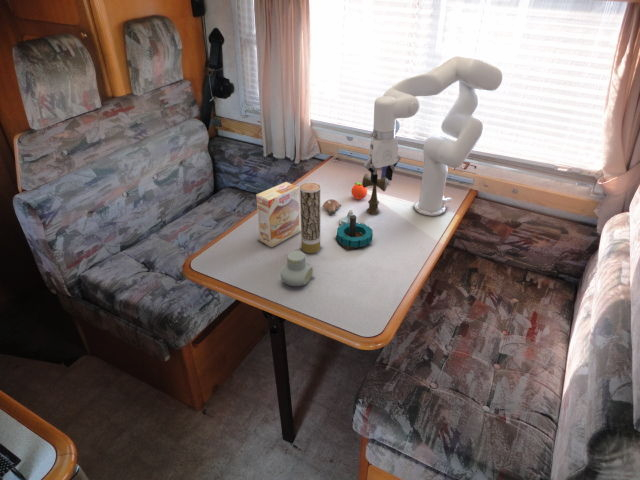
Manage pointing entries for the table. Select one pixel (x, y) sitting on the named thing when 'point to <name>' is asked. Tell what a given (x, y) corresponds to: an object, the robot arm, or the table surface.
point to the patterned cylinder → (310, 217)
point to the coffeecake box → (278, 213)
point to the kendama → (374, 192)
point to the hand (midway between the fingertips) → (381, 180)
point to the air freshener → (296, 269)
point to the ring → (355, 241)
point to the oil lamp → (331, 206)
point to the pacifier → (346, 218)
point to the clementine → (359, 191)
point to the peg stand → (352, 231)
